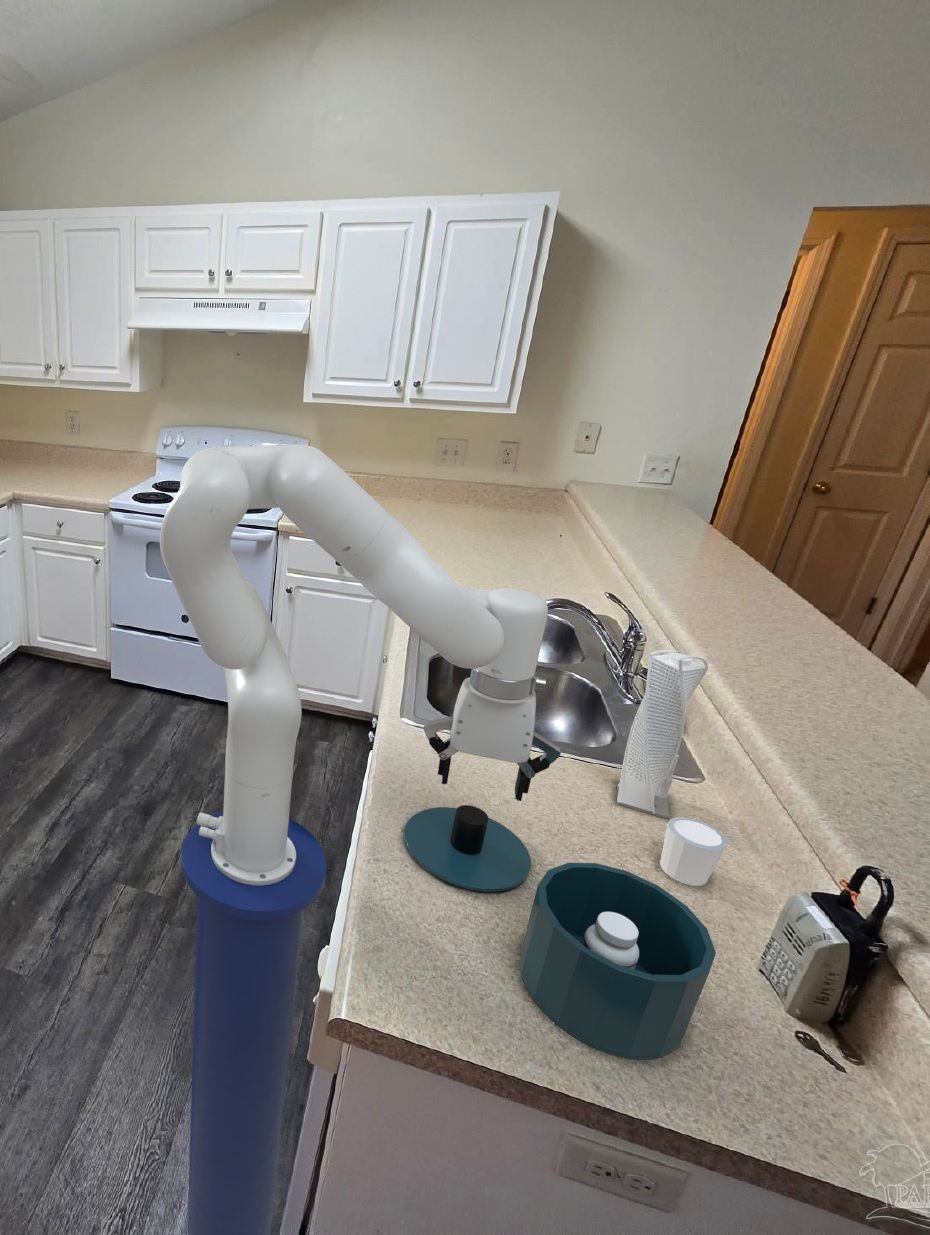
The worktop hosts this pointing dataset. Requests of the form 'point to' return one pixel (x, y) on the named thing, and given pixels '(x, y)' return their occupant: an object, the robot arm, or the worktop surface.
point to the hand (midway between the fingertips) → (480, 786)
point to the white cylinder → (691, 850)
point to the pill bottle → (614, 939)
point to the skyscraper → (658, 732)
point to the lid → (467, 848)
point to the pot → (600, 989)
